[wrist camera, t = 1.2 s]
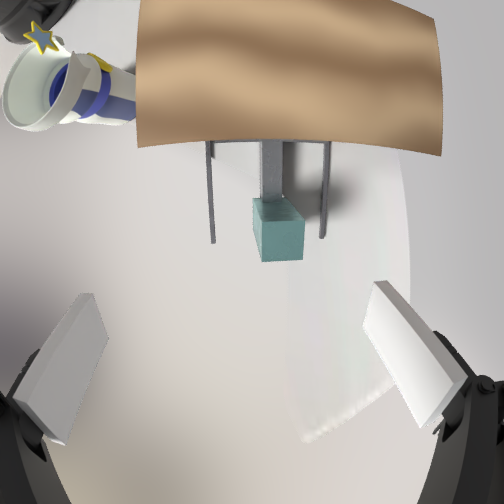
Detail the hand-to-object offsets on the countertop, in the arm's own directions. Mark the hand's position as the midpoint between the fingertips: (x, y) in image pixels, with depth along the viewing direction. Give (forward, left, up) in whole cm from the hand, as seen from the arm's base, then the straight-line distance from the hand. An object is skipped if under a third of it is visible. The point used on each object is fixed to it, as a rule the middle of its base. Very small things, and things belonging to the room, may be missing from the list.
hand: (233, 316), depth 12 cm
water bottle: (-14, -15, -27) cm, 34 cm away
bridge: (-13, +5, -27) cm, 30 cm away
